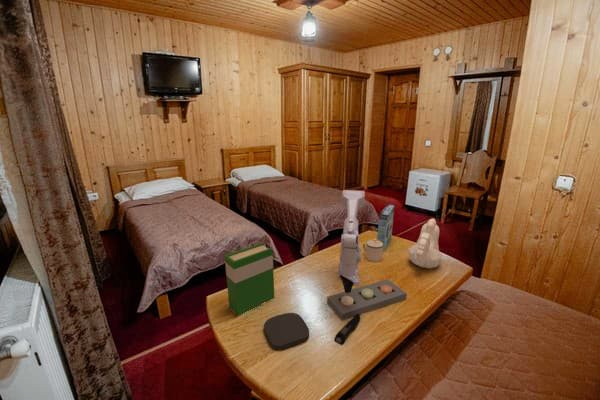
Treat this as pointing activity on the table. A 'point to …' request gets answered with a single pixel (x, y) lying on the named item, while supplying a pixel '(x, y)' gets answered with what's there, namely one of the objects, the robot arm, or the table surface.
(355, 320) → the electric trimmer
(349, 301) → the cream button
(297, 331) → the media streaming box
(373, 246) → the teacup with lid
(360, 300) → the button panel
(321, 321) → the table surface
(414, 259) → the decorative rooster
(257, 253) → the hardback book
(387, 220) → the gum box
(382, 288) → the terracotta button
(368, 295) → the sage button
